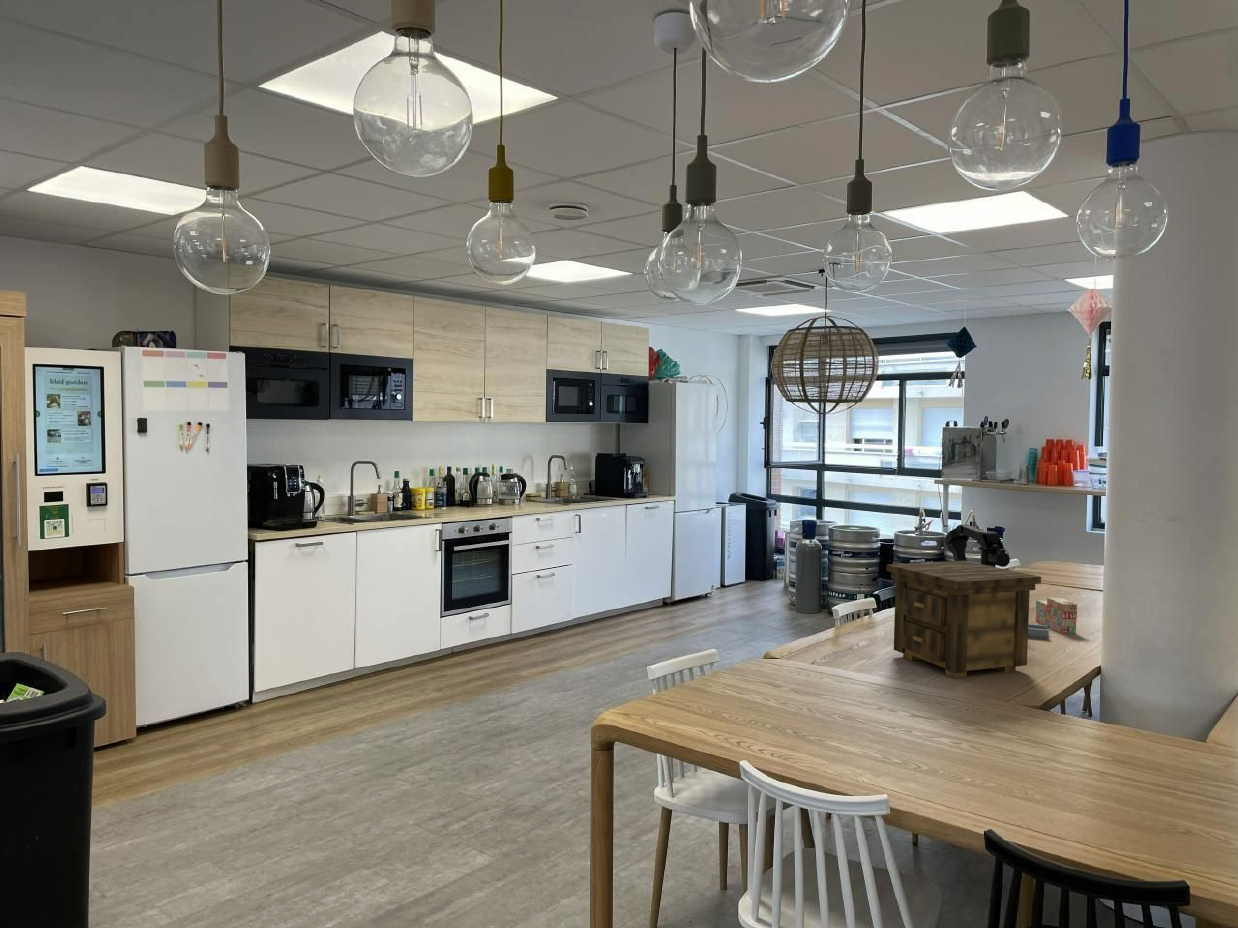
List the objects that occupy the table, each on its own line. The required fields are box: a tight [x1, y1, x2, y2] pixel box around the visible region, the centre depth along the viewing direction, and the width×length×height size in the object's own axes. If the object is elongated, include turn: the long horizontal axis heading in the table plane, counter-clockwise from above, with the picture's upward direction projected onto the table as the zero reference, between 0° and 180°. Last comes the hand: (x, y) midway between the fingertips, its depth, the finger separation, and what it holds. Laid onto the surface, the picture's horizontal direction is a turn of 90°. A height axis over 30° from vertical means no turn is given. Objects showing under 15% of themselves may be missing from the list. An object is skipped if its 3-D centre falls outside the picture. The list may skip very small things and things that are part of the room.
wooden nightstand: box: [885, 560, 1042, 678], centre depth 294 cm, size 35×35×33 cm
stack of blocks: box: [1035, 597, 1078, 635], centre depth 353 cm, size 21×6×12 cm, turn 0°
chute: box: [1028, 623, 1050, 640], centre depth 340 cm, size 20×9×4 cm, turn 66°
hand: (986, 601), depth 345 cm, fingers open, 3 cm apart
